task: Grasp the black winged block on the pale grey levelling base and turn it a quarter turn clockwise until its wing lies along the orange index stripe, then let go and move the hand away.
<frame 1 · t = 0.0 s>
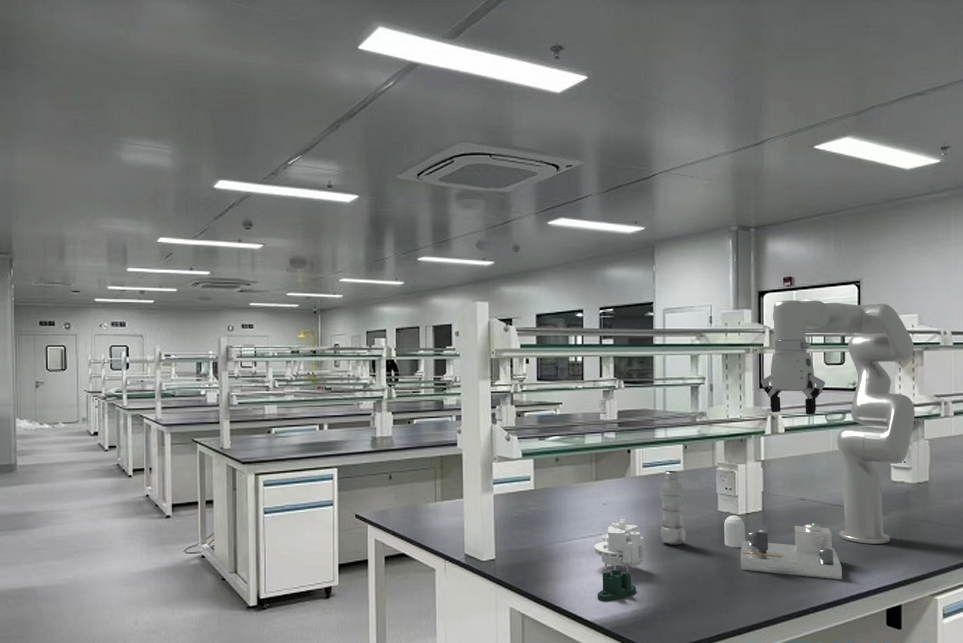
hand: (792, 413, 176), 37 cm above the lab bench, tool pointing down, fingers open, 9 cm apart
block: (761, 540, 168), point 6 cm above the lab bench, hinge at 0.0°
plastic bottle: (673, 544, 189), on the lab bench
capsule: (735, 545, 188), on the lab bench
mechanical part: (618, 570, 167), on the lab bench
mount: (617, 596, 149), on the lab bench
levelling base: (788, 564, 169), on the lab bench
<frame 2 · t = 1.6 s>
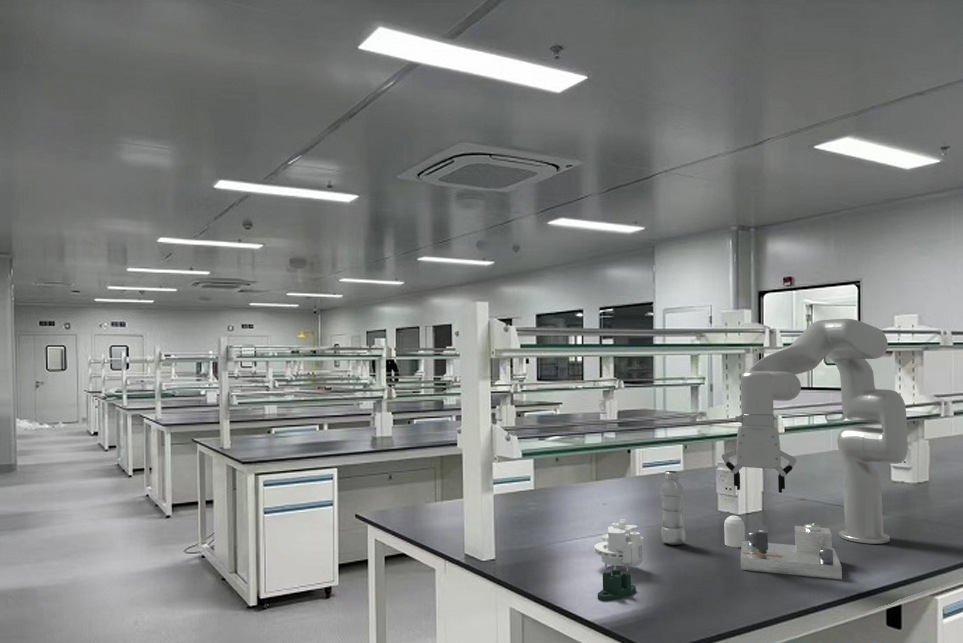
hand: (759, 490, 168), 19 cm above the lab bench, tool pointing down, fingers open, 9 cm apart
nothing on the lab bench moved.
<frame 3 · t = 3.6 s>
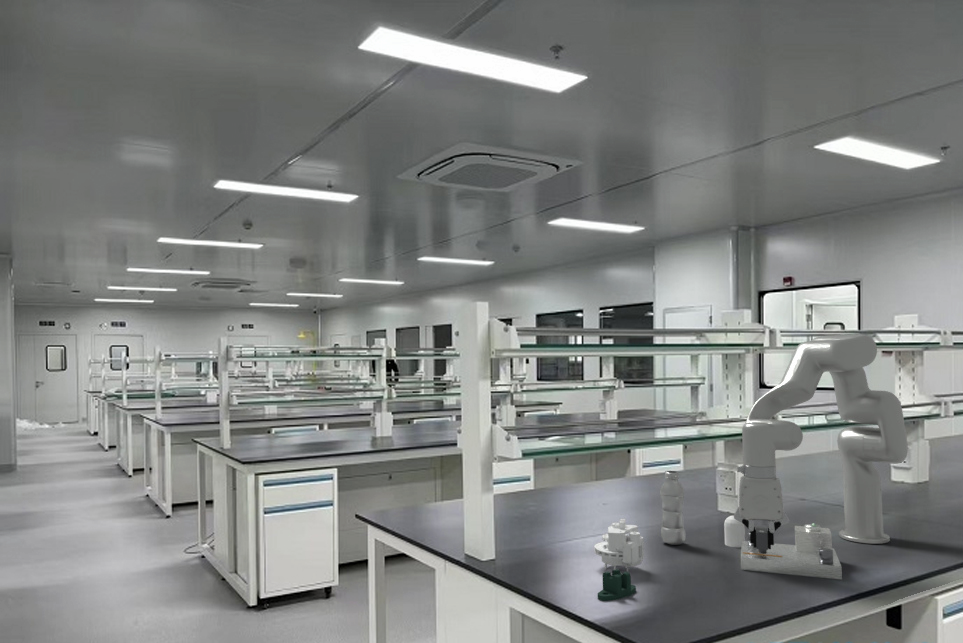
hand: (762, 546, 168), 5 cm above the lab bench, tool pointing down, fingers closed on block, 2 cm apart
block: (761, 540, 168), point 6 cm above the lab bench, hinge at 0.0°, touching gripper
everything else where it was.
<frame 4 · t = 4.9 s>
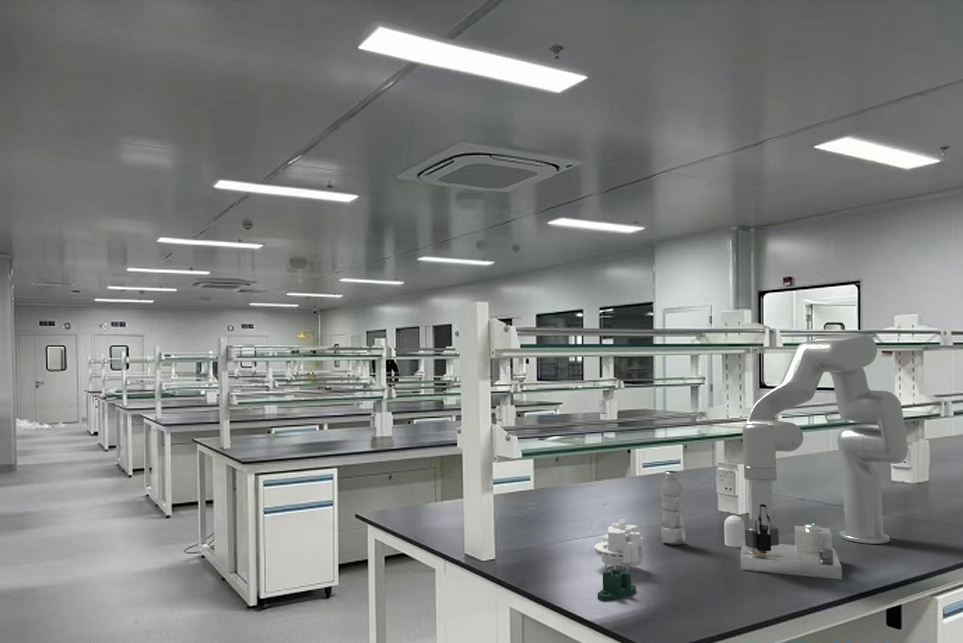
hand: (762, 546, 168), 5 cm above the lab bench, tool pointing down, fingers closed on block, 5 cm apart
block: (761, 540, 168), point 6 cm above the lab bench, hinge at -48.4°, touching gripper
everything else where it was.
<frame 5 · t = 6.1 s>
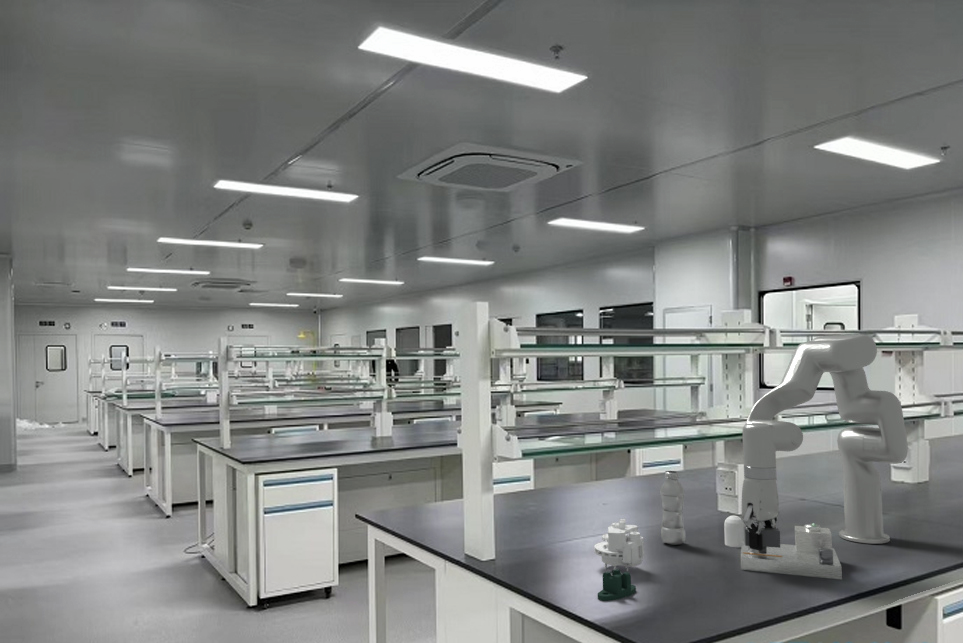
hand: (762, 546, 168), 5 cm above the lab bench, tool pointing down, fingers closed on block, 5 cm apart
block: (761, 540, 168), point 6 cm above the lab bench, hinge at -82.5°, touching gripper
everything else where it was.
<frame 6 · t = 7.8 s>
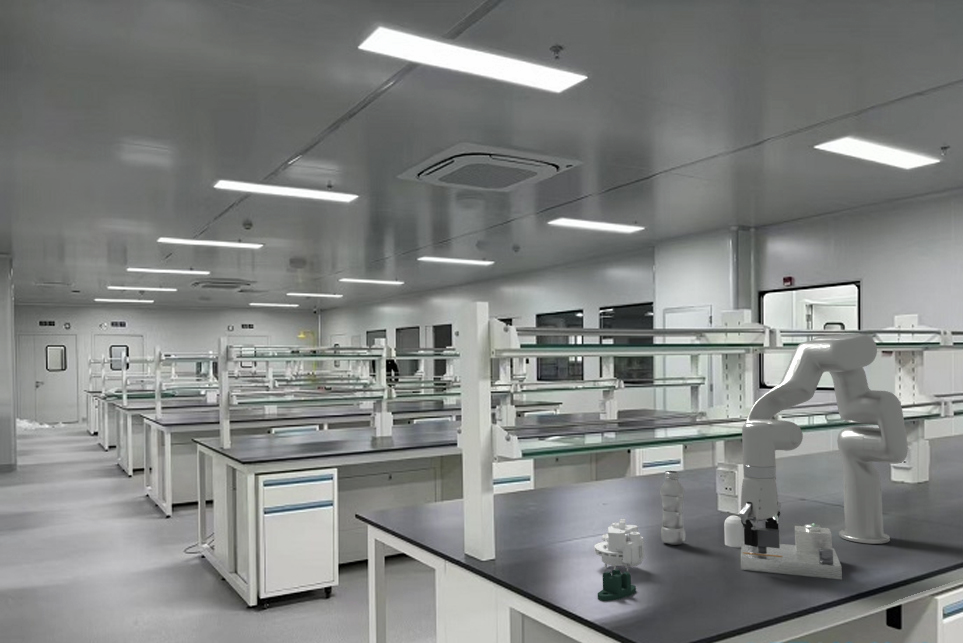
hand: (761, 542, 168), 6 cm above the lab bench, tool pointing down, fingers open, 9 cm apart
block: (761, 540, 168), point 6 cm above the lab bench, hinge at -93.8°
everything else where it was.
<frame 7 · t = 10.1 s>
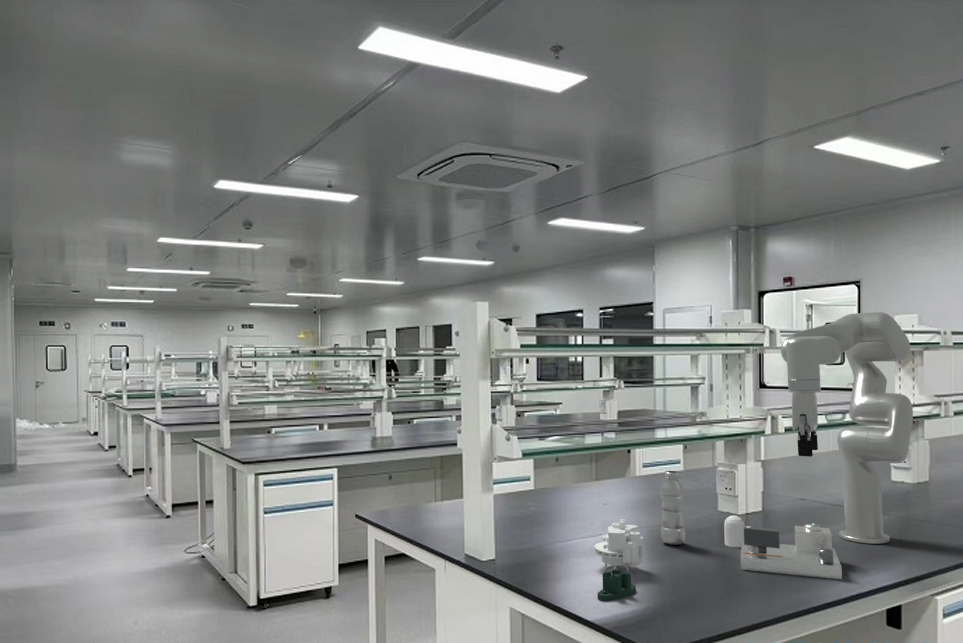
hand: (808, 452, 173), 27 cm above the lab bench, tool pointing down, fingers open, 9 cm apart
block: (761, 540, 168), point 6 cm above the lab bench, hinge at -96.1°
everything else where it was.
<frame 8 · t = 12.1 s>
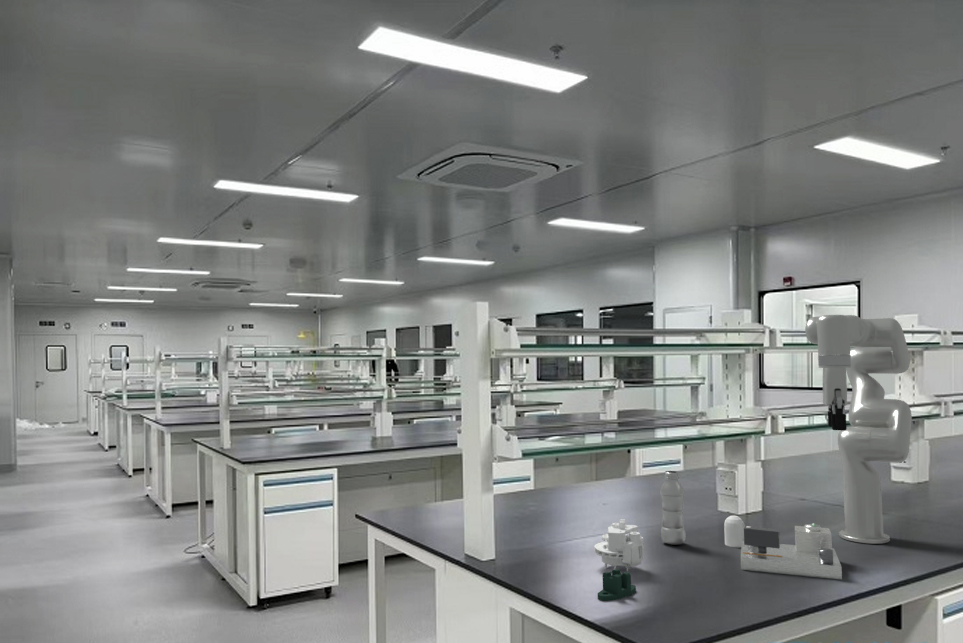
hand: (837, 428, 175), 33 cm above the lab bench, tool pointing down, fingers open, 9 cm apart
nothing on the lab bench moved.
at the end: block at -96° (first picture: +0°); the gripper is holding nothing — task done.
